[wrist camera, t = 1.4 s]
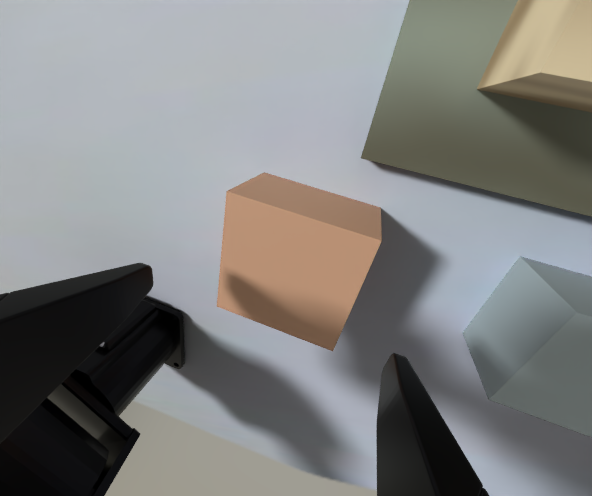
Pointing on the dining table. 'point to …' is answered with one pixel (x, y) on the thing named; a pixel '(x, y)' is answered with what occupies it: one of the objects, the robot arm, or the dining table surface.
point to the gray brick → (537, 344)
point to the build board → (492, 98)
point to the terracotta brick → (295, 256)
